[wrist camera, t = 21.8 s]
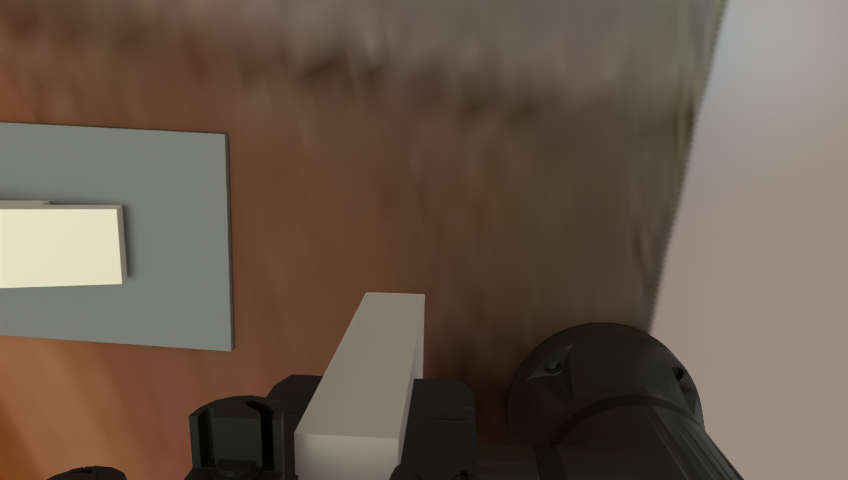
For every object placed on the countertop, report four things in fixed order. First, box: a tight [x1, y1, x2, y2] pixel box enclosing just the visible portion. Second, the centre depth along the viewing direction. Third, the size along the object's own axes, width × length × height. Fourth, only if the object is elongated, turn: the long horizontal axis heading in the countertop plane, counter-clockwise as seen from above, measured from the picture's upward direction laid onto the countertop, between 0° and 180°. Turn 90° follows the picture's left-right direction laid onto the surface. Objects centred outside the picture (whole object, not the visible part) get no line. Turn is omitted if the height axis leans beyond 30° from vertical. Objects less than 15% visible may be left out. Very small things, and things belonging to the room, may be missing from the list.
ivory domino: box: [0, 205, 128, 288], centre depth 43 cm, size 6×2×13 cm
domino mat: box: [0, 122, 234, 351], centre depth 47 cm, size 18×38×1 cm, turn 87°
